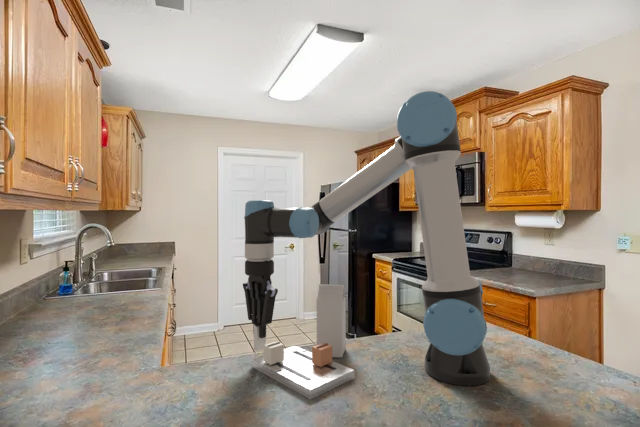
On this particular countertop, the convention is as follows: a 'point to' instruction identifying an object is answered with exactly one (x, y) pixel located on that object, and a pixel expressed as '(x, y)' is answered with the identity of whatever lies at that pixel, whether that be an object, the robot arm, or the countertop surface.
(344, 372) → the console
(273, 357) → the block
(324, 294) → the milk carton
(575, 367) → the countertop surface
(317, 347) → the fader
